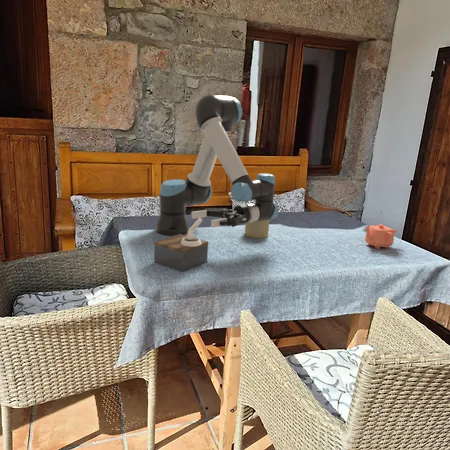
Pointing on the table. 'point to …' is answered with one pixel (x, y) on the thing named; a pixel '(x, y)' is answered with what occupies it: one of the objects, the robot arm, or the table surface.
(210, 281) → the table surface
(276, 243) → the table surface
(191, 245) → the white ring with handle
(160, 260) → the block
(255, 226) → the sugar bowl
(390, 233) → the teapot
